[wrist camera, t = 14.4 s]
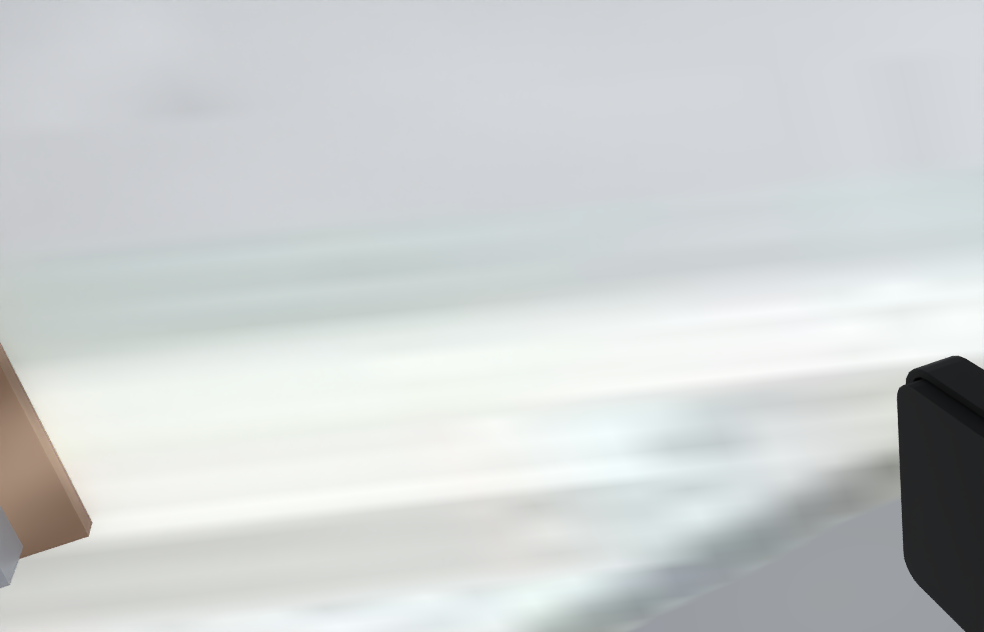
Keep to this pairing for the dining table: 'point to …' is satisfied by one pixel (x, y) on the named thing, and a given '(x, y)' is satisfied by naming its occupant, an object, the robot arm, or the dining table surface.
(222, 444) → the dining table surface
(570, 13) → the dining table surface
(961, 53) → the dining table surface
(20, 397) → the pocket board
